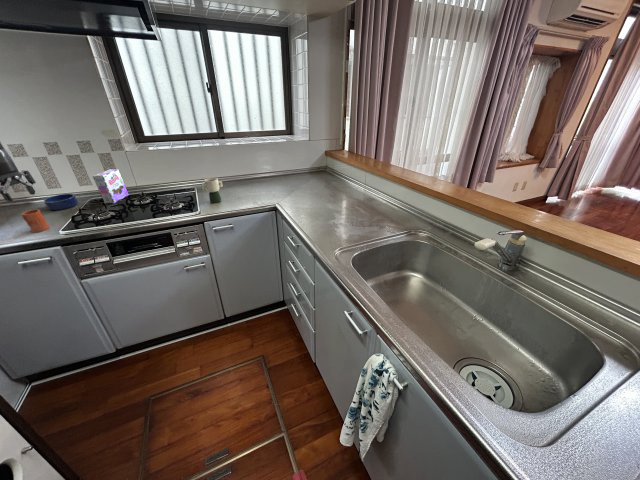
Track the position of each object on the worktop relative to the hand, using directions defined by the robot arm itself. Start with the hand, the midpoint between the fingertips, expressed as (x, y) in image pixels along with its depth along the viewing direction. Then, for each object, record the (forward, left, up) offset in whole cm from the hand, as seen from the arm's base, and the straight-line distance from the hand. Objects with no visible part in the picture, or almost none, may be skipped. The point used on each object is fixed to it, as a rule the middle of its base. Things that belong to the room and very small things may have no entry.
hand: (22, 197), depth 118 cm
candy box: (+22, +33, -16) cm, 43 cm away
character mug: (+79, +10, -16) cm, 81 cm away
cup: (0, 0, -16) cm, 16 cm away
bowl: (-4, +31, -16) cm, 35 cm away
